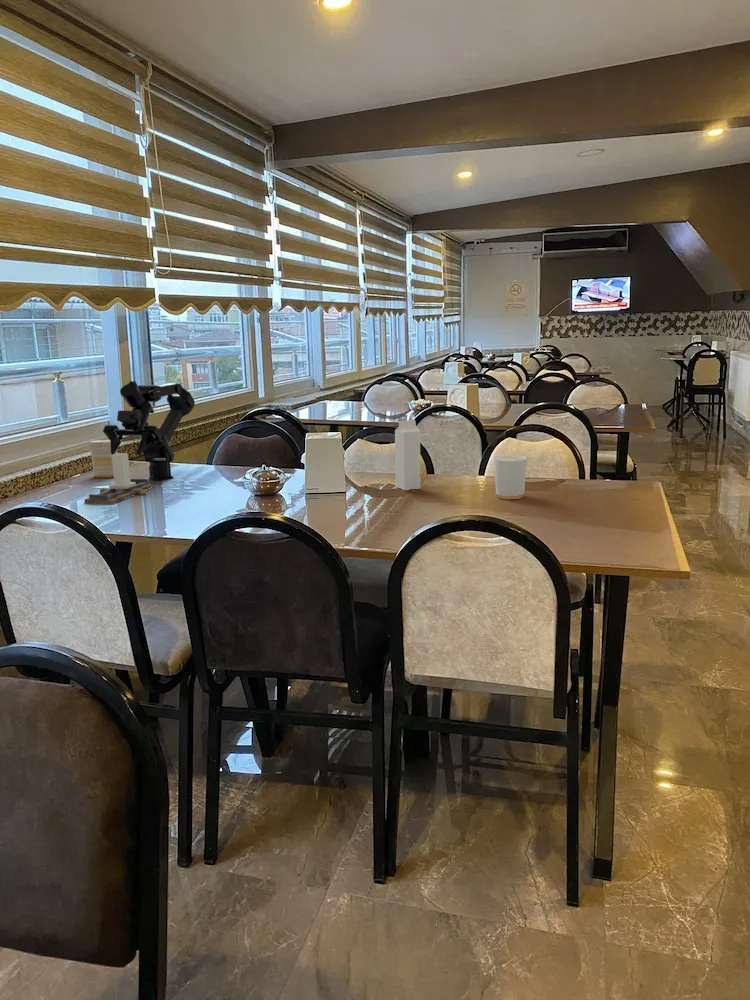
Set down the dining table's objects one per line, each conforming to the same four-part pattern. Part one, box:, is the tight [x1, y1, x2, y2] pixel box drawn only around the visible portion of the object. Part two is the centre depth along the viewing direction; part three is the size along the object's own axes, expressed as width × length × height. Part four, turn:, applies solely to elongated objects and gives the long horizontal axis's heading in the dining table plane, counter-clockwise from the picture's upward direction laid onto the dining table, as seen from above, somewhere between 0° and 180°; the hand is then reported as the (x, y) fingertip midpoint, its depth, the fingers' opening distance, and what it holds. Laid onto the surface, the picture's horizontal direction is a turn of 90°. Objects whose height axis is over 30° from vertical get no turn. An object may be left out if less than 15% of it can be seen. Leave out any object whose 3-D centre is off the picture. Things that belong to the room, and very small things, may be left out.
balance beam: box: [84, 478, 154, 505], centre depth 244 cm, size 25×16×3 cm, turn 167°
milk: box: [394, 419, 421, 490], centre depth 242 cm, size 6×6×22 cm
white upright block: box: [108, 452, 136, 492], centre depth 245 cm, size 6×6×12 cm
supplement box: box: [89, 439, 119, 478], centre depth 275 cm, size 8×5×13 cm, turn 84°
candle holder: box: [493, 454, 528, 496], centre depth 229 cm, size 10×10×12 cm
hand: (124, 454), depth 246 cm, fingers open, 9 cm apart
